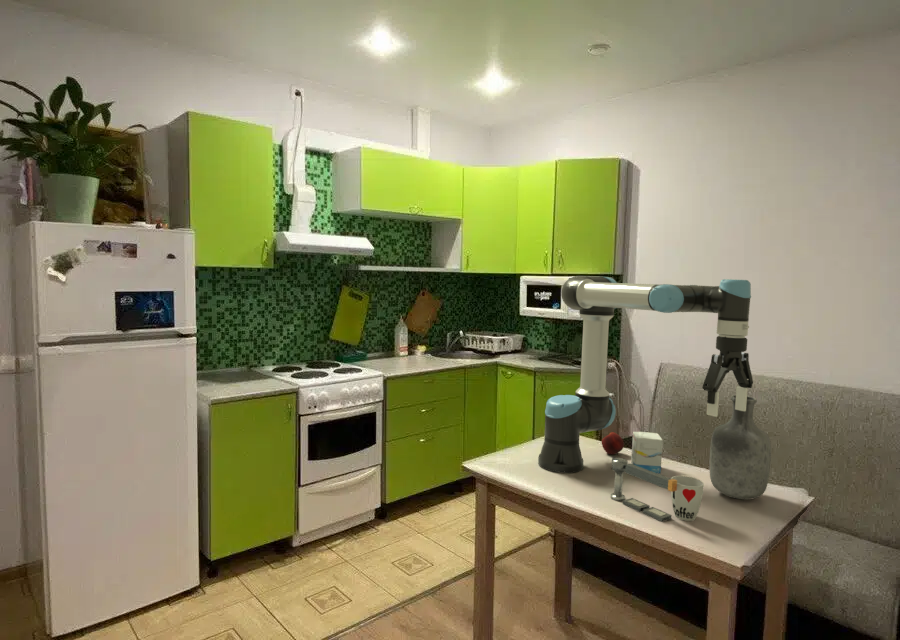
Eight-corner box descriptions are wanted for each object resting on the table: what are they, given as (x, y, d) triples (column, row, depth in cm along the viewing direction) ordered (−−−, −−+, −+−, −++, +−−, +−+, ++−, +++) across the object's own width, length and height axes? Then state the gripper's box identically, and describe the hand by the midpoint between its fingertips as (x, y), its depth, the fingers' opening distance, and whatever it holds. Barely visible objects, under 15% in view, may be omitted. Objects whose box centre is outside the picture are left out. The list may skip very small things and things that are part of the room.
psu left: (622, 503, 156) (622, 500, 156) (632, 501, 158) (632, 497, 158) (640, 511, 151) (640, 508, 151) (649, 509, 153) (649, 505, 153)
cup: (663, 516, 149) (666, 480, 148) (676, 507, 155) (678, 473, 154) (694, 526, 143) (696, 489, 142) (706, 517, 149) (708, 481, 148)
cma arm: (608, 468, 160) (608, 459, 160) (618, 466, 162) (618, 456, 162) (668, 492, 143) (669, 482, 143) (679, 489, 145) (680, 479, 145)
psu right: (643, 513, 150) (643, 509, 150) (652, 510, 152) (652, 506, 152) (661, 521, 145) (662, 517, 145) (671, 518, 147) (671, 514, 147)
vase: (769, 494, 167) (777, 397, 165) (764, 511, 154) (773, 406, 151) (712, 481, 176) (718, 389, 174) (703, 497, 163) (709, 397, 160)
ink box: (661, 474, 182) (663, 439, 181) (634, 471, 183) (636, 437, 182) (656, 465, 190) (658, 432, 189) (630, 463, 192) (632, 430, 191)
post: (607, 497, 161) (609, 469, 160) (616, 494, 163) (618, 467, 162) (618, 502, 157) (620, 473, 157) (627, 499, 160) (629, 471, 159)
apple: (609, 449, 206) (610, 428, 206) (627, 455, 200) (628, 433, 200) (597, 453, 202) (598, 431, 201) (616, 459, 196) (617, 437, 195)
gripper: (718, 339, 139) (712, 421, 141) (770, 336, 153) (764, 411, 154) (691, 336, 146) (686, 414, 147) (743, 333, 159) (738, 405, 161)
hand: (726, 413), depth 151 cm, fingers open, 13 cm apart
